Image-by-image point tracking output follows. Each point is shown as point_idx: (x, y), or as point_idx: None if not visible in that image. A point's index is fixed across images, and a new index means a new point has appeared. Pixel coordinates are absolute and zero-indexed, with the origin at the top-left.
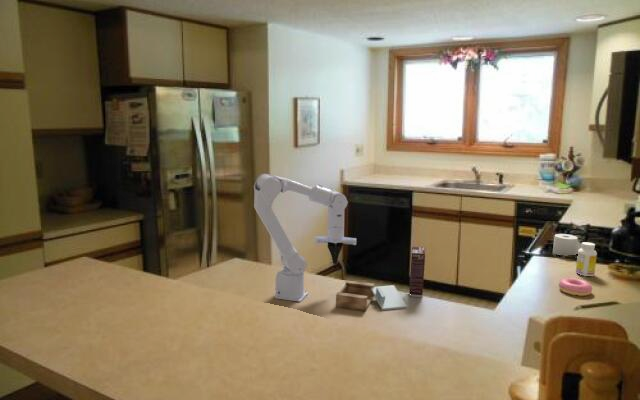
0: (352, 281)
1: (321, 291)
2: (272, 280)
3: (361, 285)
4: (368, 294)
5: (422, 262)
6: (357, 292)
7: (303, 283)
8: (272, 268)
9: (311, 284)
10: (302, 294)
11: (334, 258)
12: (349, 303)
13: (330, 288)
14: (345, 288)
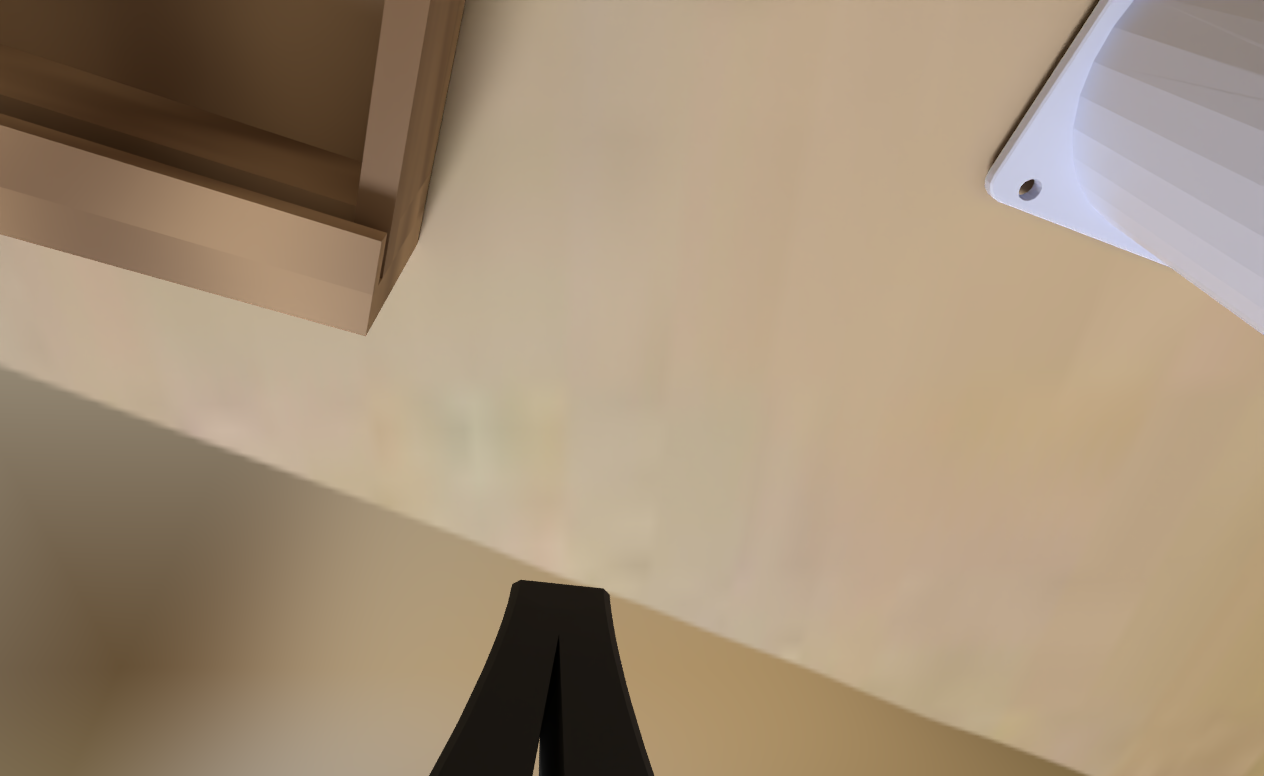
0: (260, 289)
1: (765, 275)
2: (1244, 556)
3: (56, 132)
4: (16, 55)
5: None
6: (213, 122)
7: (1261, 92)
8: (1117, 757)
9: (850, 471)
10: (1163, 1)
11: (564, 709)
12: None
13: (636, 367)
14: (380, 78)
